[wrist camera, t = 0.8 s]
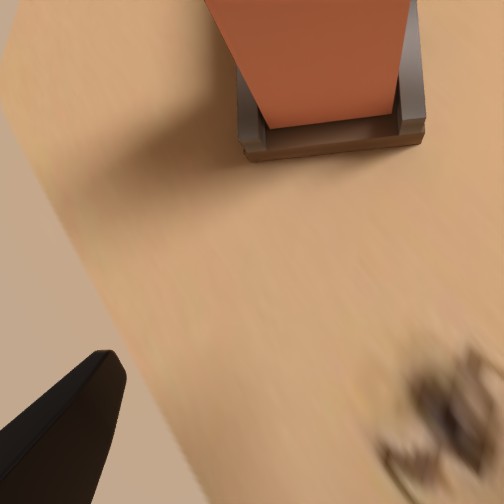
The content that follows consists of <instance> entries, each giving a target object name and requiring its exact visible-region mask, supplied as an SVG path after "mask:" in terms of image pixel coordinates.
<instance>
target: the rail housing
mask: <svg viewBox="0 0 504 504" xmlns="http://www.w3.org/2000/svg"><path fill="white" fill-rule="evenodd" d="M236 66H237V64H236ZM237 107H238V140H239V142H240V143H241V144H242V146H243V147H244V154H245V155H246V157H247V158H248V159H249V161H250V162H256V161H266V160H275V159H284V158H293V157H302V156H312V155H321V154H330V153H339V152H348V151H357V150H367V149H376V148H385V147H394V146H403V145H413V144H421V142H422V139H423V137H424V134H425V124H424V122H425V119H426V107H425V95H424V83H423V71H422V59H421V47H420V35H419V23H418V11H417V0H411V1H410V7H409V13H408V19H407V25H406V31H405V37H404V43H403V49H402V54H401V60H400V66H399V72H398V78H397V84H396V90H395V96H394V102H393V108H392V114H387V115H379V116H372V117H364V118H356V119H348V120H340V121H332V122H324V123H316V124H308V125H300V126H292V127H284V128H276V129H270V128H269V126H268V125H267V123H266V121H265V119H264V117H263V115H262V113H261V111H260V109H259V107H258V105H257V103H256V101H255V99H254V97H253V95H252V93H251V91H250V89H249V87H248V85H247V83H246V81H245V79H244V77H243V75H242V73H241V71H240V70H239V68H238V66H237Z"/></svg>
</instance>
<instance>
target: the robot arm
mask: <svg viewBox="0 0 504 504" xmlns="http://www.w3.org/2000/svg"><path fill="white" fill-rule="evenodd" d="M126 380H127V376H126V371H125V369H124V368H123V366H122V364H121V362H120V360H119V358H118V357H117V355H116V353H115V352H114V351H113V350H97V351H95V352H93V353H92V354H91V355H89V356H88V357H87V358H86V359H85V360H84V361H82V362H81V363H80V364H79V365H78V366H76V367H75V368H74V369H73V370H72V371H70V372H69V373H68V374H67V375H66V376H64V377H63V378H62V379H61V380H60V381H59V382H57V383H56V384H55V385H54V386H53V387H52V388H50V389H49V390H48V391H47V392H46V393H44V394H43V395H42V396H41V397H40V398H38V399H37V400H36V401H35V402H34V403H33V404H31V405H30V406H29V407H28V408H26V409H25V410H24V411H23V412H22V413H21V414H19V415H18V416H17V417H16V418H15V419H14V420H12V421H11V422H10V423H9V424H7V425H6V426H5V427H4V428H3V429H2V430H0V504H91V502H92V499H93V496H94V494H95V491H96V488H97V485H98V482H99V479H100V476H101V473H102V470H103V467H104V464H105V462H106V459H107V456H108V453H109V450H110V446H111V443H112V439H113V436H114V432H115V428H116V424H117V419H118V415H119V411H120V407H121V402H122V398H123V393H124V390H125V385H126Z"/></svg>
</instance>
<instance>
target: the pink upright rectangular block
mask: <svg viewBox="0 0 504 504" xmlns="http://www.w3.org/2000/svg"><path fill="white" fill-rule="evenodd" d="M204 1H205V3H206V5H207V7H208V9H209V11H210V13H211V15H212V16H213V18H214V20H215V22H216V24H217V26H218V28H219V30H220V32H221V34H222V36H223V38H224V40H225V42H226V44H227V46H228V48H229V50H230V52H231V54H232V56H233V58H234V60H235V62H236V64H237V66H238V68H239V70H240V71H241V73H242V75H243V77H244V79H245V81H246V83H247V85H248V87H249V89H250V91H251V93H252V95H253V97H254V99H255V101H256V103H257V105H258V107H259V109H260V111H261V113H262V115H263V117H264V119H265V121H266V123H267V125H268V126H269V128H270V129H276V128H284V127H292V126H300V125H308V124H316V123H324V122H332V121H340V120H348V119H356V118H364V117H372V116H379V115H387V114H392V108H393V102H394V96H395V90H396V84H397V78H398V72H399V66H400V60H401V54H402V49H403V43H404V37H405V31H406V25H407V19H408V13H409V7H410V1H411V0H204Z"/></svg>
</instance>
